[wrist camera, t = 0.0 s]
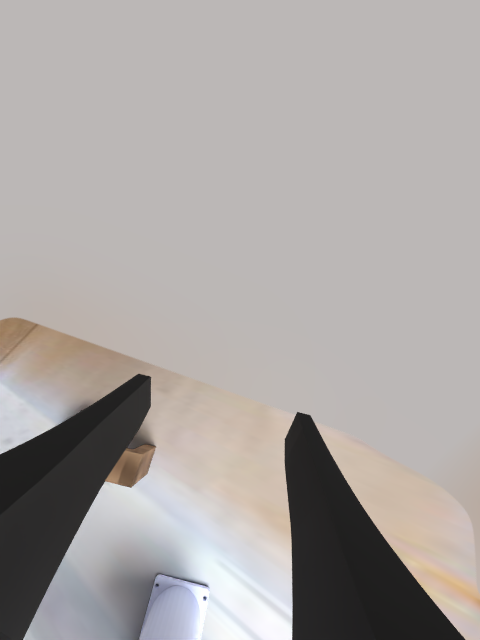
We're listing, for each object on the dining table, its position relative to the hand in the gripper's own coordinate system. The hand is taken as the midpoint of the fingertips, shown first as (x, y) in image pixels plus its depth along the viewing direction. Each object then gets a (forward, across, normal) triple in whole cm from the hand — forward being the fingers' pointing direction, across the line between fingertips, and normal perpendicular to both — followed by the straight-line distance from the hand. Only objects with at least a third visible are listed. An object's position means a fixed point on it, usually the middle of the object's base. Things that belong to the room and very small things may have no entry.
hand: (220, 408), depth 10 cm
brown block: (+13, +15, +31) cm, 37 cm away
